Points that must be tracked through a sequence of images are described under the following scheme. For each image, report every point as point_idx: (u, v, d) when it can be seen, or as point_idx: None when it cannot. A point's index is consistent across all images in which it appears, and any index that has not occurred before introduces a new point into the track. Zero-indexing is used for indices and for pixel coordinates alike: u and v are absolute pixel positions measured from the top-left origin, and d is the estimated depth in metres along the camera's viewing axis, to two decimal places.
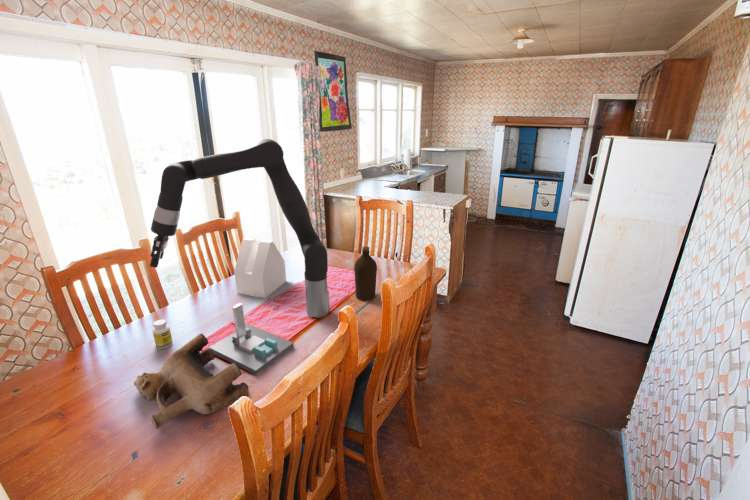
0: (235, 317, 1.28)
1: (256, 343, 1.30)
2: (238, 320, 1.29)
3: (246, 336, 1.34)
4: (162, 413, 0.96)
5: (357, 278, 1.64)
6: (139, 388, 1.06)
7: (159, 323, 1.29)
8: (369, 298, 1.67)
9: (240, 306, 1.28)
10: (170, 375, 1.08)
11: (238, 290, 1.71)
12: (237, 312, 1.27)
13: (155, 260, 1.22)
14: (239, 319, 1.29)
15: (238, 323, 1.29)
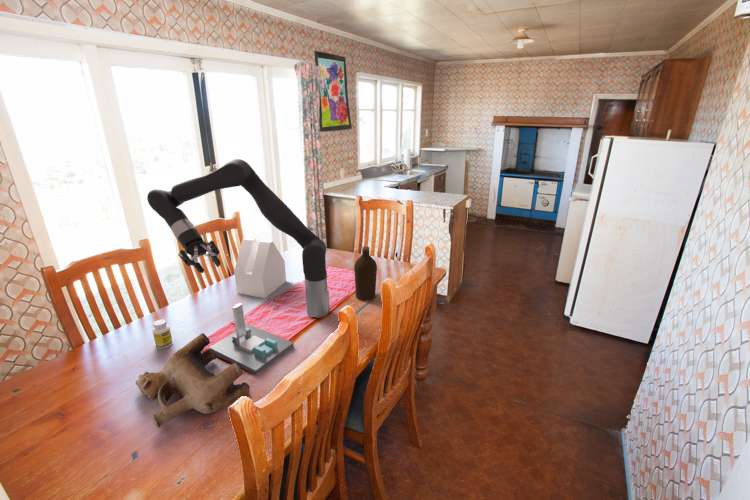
0: (235, 317, 1.28)
1: (256, 343, 1.30)
2: (238, 320, 1.29)
3: (246, 336, 1.34)
4: (164, 412, 0.96)
5: (357, 278, 1.64)
6: (141, 387, 1.07)
7: (159, 323, 1.29)
8: (369, 298, 1.67)
9: (240, 306, 1.28)
10: (171, 374, 1.08)
11: (238, 290, 1.71)
12: (237, 312, 1.27)
13: (196, 266, 1.31)
14: (239, 319, 1.29)
15: (238, 323, 1.29)
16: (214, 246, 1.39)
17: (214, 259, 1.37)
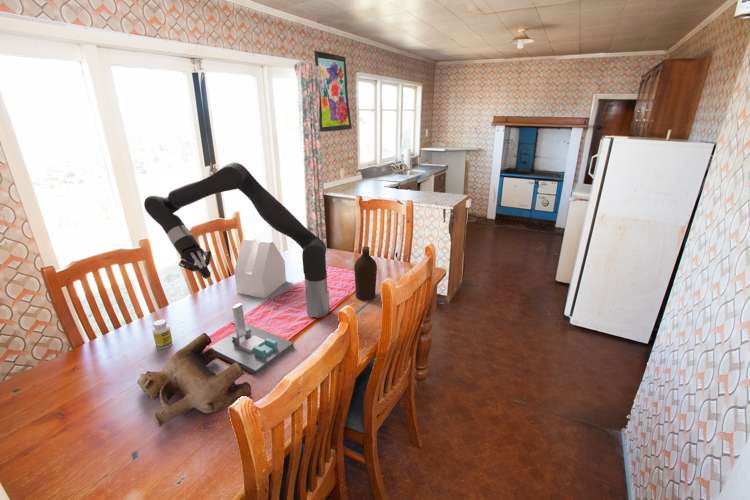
0: (235, 317, 1.28)
1: (256, 343, 1.30)
2: (238, 320, 1.29)
3: (246, 336, 1.34)
4: (165, 411, 0.97)
5: (357, 278, 1.64)
6: (142, 386, 1.07)
7: (159, 323, 1.29)
8: (369, 298, 1.67)
9: (240, 306, 1.28)
10: (173, 374, 1.08)
11: (238, 290, 1.71)
12: (237, 312, 1.27)
13: (201, 272, 1.33)
14: (239, 319, 1.29)
15: (238, 323, 1.29)
16: (208, 256, 1.37)
17: None
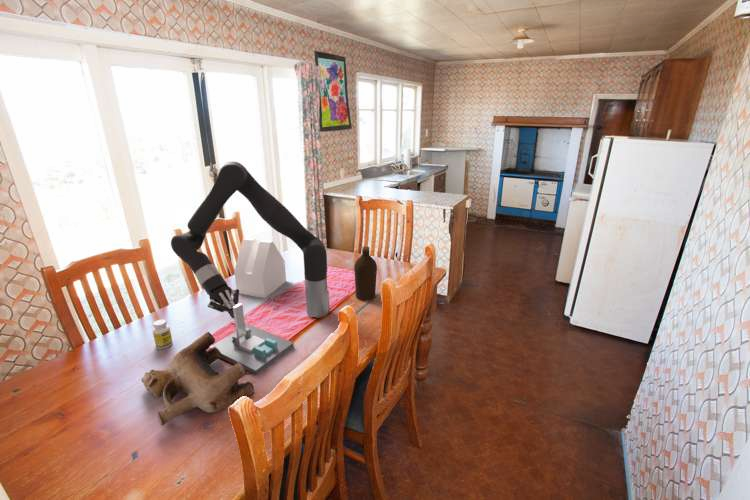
0: (235, 317, 1.28)
1: (256, 343, 1.30)
2: (238, 320, 1.29)
3: (246, 336, 1.34)
4: (168, 410, 0.97)
5: (357, 278, 1.64)
6: (146, 385, 1.07)
7: (159, 323, 1.29)
8: (369, 298, 1.67)
9: (240, 306, 1.28)
10: (177, 373, 1.09)
11: None
12: (237, 312, 1.27)
13: (230, 312, 1.29)
14: (239, 319, 1.29)
15: (238, 323, 1.29)
16: (236, 295, 1.33)
17: None
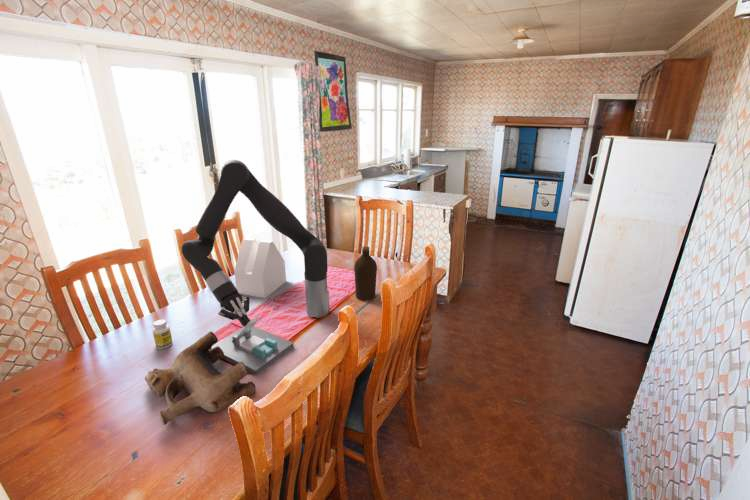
0: (247, 327, 1.26)
1: (256, 343, 1.30)
2: (248, 329, 1.27)
3: (246, 336, 1.34)
4: (170, 409, 0.97)
5: (357, 278, 1.64)
6: (149, 384, 1.08)
7: (159, 323, 1.29)
8: (369, 298, 1.67)
9: (256, 320, 1.26)
10: (179, 372, 1.09)
11: (238, 290, 1.71)
12: (251, 324, 1.25)
13: (241, 320, 1.27)
14: (249, 328, 1.28)
15: (246, 331, 1.28)
16: (247, 303, 1.31)
17: None
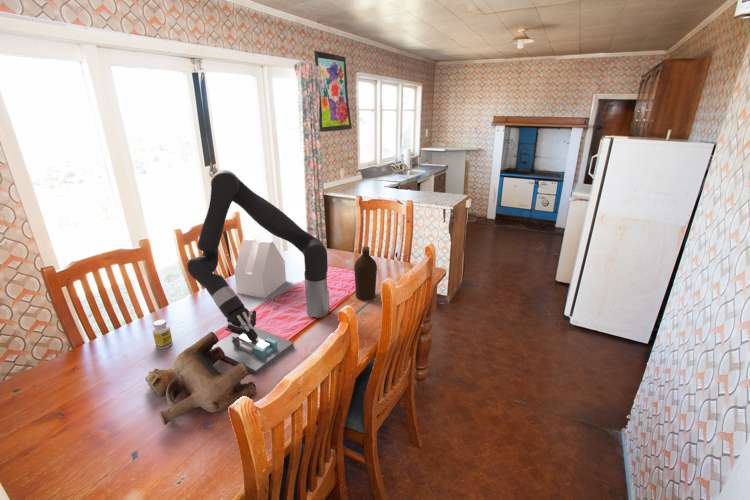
0: None
1: None
2: None
3: None
4: (171, 410, 0.97)
5: (357, 278, 1.64)
6: (150, 384, 1.08)
7: (159, 323, 1.29)
8: (369, 298, 1.67)
9: None
10: (180, 372, 1.09)
11: (238, 290, 1.71)
12: None
13: (248, 334, 1.28)
14: None
15: None
16: (254, 317, 1.32)
17: None
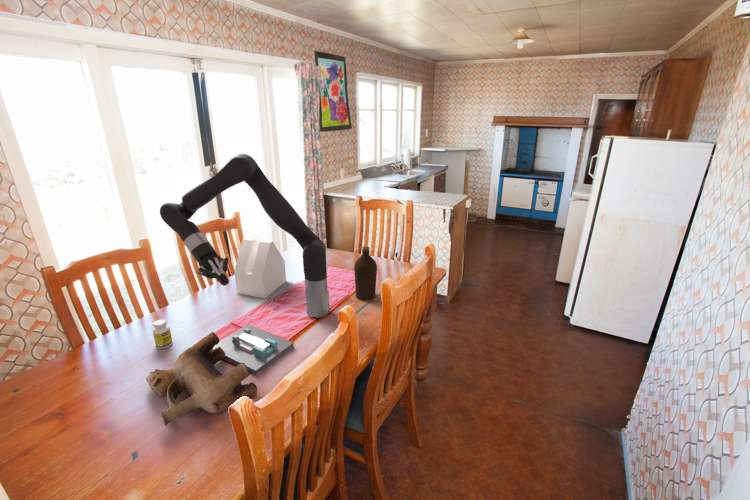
0: None
1: None
2: None
3: None
4: (171, 410, 0.97)
5: (357, 278, 1.64)
6: (151, 384, 1.08)
7: (159, 323, 1.29)
8: (369, 298, 1.67)
9: None
10: (181, 373, 1.09)
11: (238, 290, 1.71)
12: None
13: (219, 279, 1.31)
14: None
15: None
16: (225, 263, 1.35)
17: None
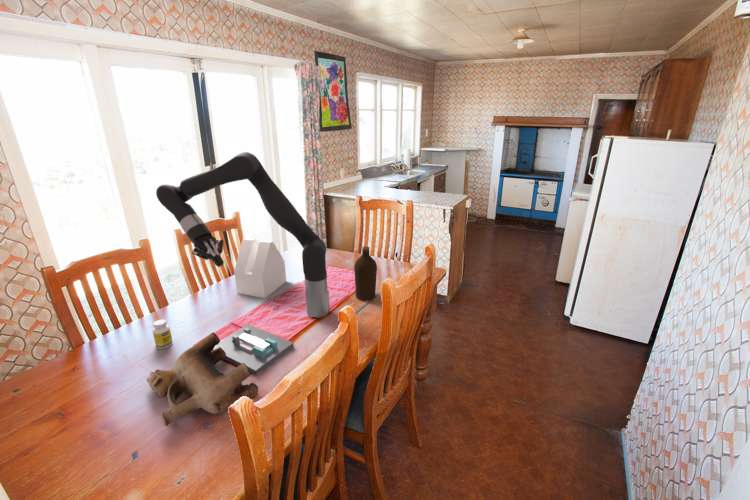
0: None
1: None
2: None
3: None
4: (172, 411, 0.97)
5: (357, 278, 1.64)
6: (151, 385, 1.08)
7: (159, 323, 1.29)
8: (369, 298, 1.67)
9: None
10: (181, 373, 1.09)
11: (238, 290, 1.71)
12: None
13: (214, 260, 1.33)
14: None
15: None
16: (221, 245, 1.37)
17: None
